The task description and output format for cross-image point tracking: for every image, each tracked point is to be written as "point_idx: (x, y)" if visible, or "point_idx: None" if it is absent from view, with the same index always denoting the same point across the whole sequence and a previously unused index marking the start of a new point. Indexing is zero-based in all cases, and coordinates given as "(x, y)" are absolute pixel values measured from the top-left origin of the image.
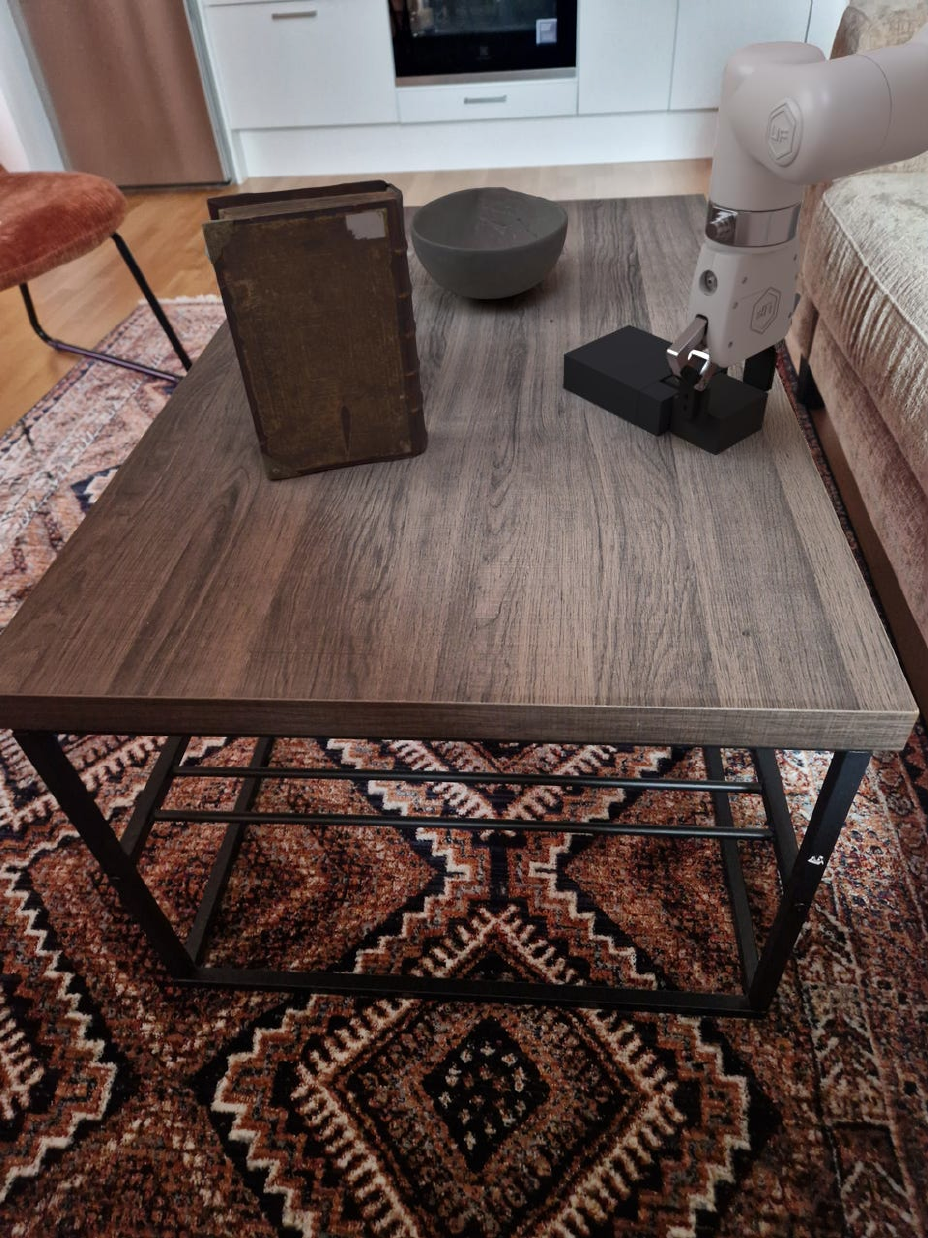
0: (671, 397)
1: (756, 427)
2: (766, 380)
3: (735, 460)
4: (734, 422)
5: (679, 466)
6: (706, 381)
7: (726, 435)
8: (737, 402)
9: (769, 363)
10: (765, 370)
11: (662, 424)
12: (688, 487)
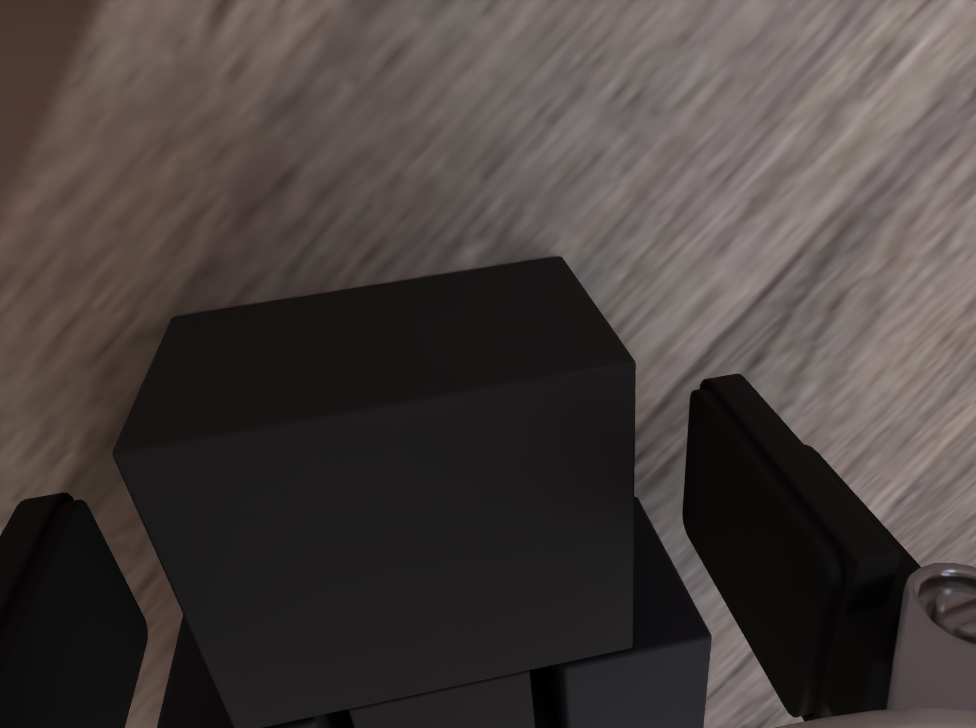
0: (633, 645)
1: (222, 321)
2: (58, 560)
3: (514, 160)
4: (468, 344)
5: (753, 277)
6: (937, 628)
7: (516, 303)
8: (398, 459)
9: (5, 683)
10: (45, 637)
11: (634, 534)
12: (873, 113)
